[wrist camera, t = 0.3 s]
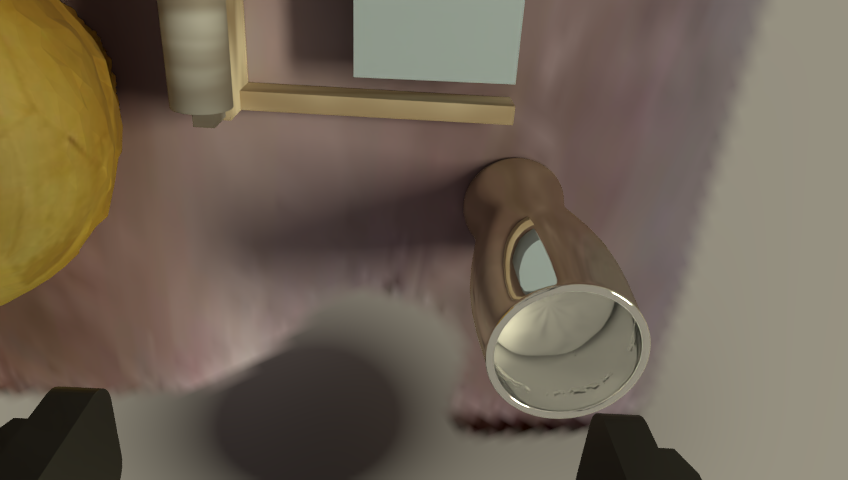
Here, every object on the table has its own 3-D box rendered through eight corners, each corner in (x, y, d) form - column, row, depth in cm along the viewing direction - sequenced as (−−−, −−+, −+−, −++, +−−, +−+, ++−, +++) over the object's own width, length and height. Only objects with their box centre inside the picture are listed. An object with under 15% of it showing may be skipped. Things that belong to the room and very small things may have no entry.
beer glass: (447, 248, 40) (466, 415, 26) (466, 142, 37) (498, 270, 23) (555, 261, 40) (628, 430, 27) (583, 157, 37) (680, 291, 24)
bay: (189, -131, 30) (128, -145, 24) (535, -106, 31) (569, -113, 24) (210, 98, 35) (163, 139, 29) (507, 114, 36) (529, 158, 29)
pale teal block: (359, -61, 32) (353, -58, 28) (516, -52, 32) (530, -49, 29) (359, 60, 35) (353, 77, 31) (504, 67, 35) (515, 84, 32)
